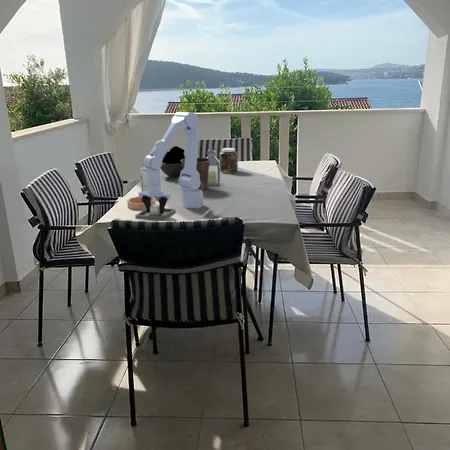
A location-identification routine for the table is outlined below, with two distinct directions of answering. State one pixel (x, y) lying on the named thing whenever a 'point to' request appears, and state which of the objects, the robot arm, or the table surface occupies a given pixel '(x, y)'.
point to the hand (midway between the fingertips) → (155, 212)
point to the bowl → (138, 203)
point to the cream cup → (155, 210)
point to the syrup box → (143, 179)
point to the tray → (146, 215)
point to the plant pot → (201, 171)
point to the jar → (228, 160)
